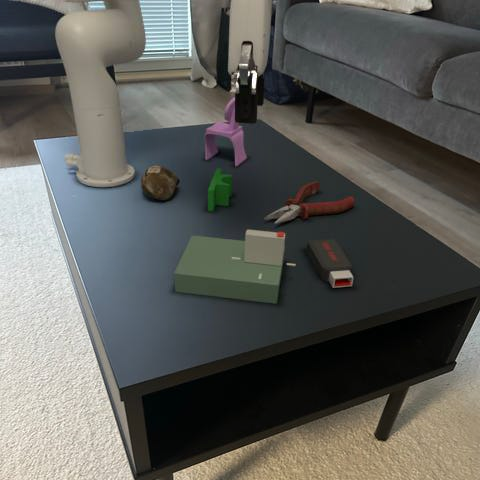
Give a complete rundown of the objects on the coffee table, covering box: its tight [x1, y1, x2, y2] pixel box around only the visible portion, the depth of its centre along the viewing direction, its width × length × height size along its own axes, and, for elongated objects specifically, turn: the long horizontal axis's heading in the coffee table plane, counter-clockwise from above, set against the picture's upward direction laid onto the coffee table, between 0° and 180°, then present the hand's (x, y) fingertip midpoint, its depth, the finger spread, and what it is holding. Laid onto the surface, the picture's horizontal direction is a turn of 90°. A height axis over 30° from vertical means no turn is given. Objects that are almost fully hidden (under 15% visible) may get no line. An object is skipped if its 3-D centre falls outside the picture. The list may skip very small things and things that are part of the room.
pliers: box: [263, 181, 356, 225], centre depth 101 cm, size 12×20×3 cm, turn 133°
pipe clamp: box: [207, 167, 233, 212], centre depth 103 cm, size 11×4×5 cm, turn 173°
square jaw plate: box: [244, 229, 286, 266], centre depth 78 cm, size 6×2×5 cm, turn 81°
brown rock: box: [140, 165, 181, 201], centre depth 104 cm, size 8×7×10 cm
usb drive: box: [305, 238, 355, 289], centre depth 84 cm, size 5×12×3 cm, turn 10°
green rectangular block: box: [173, 234, 297, 305], centre depth 81 cm, size 18×12×4 cm, turn 81°
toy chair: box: [204, 96, 248, 167], centre depth 118 cm, size 8×9×15 cm
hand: (249, 113), depth 77 cm, fingers open, 9 cm apart
